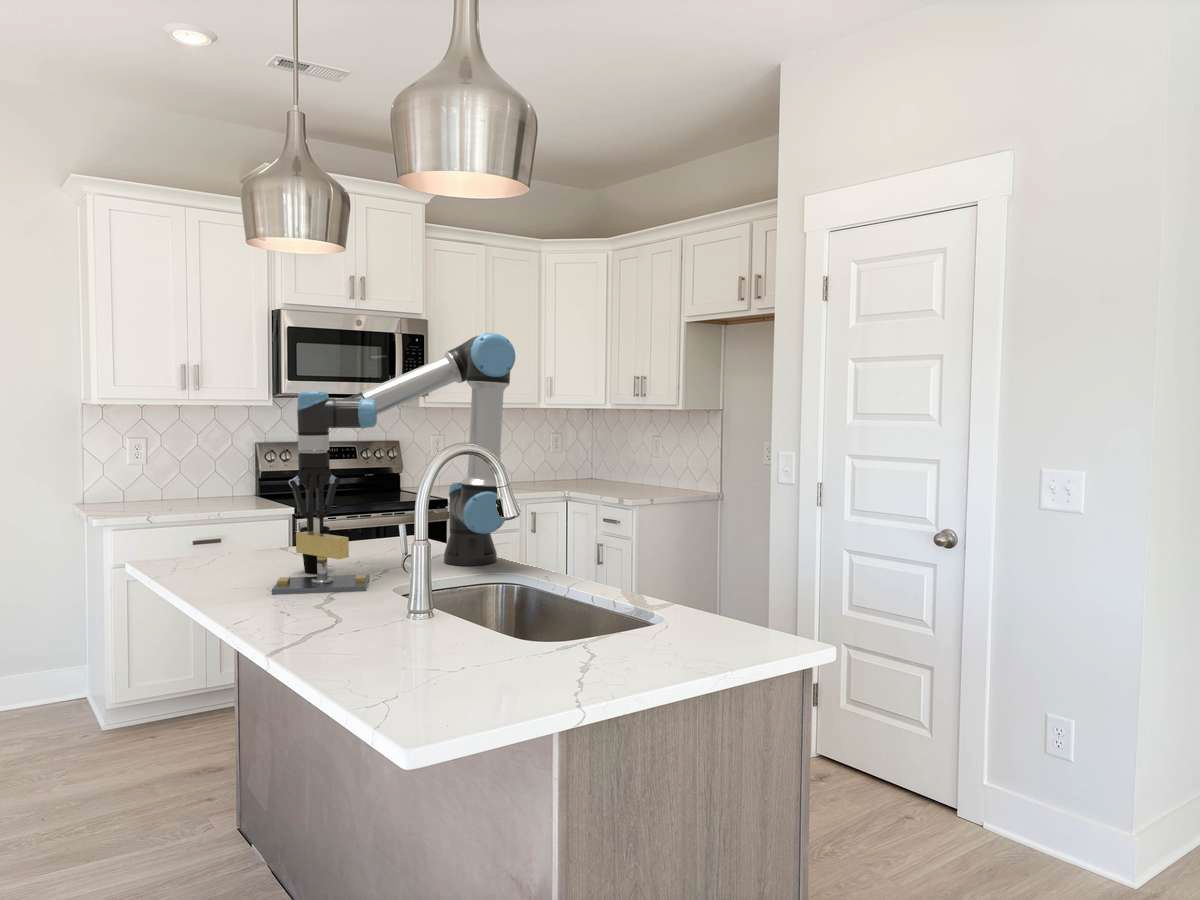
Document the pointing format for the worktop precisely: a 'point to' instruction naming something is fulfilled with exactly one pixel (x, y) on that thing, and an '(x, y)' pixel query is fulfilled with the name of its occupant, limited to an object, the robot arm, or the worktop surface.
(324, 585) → the plate
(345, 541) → the flat gold bar
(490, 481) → the robot arm
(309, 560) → the cup
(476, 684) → the worktop surface
